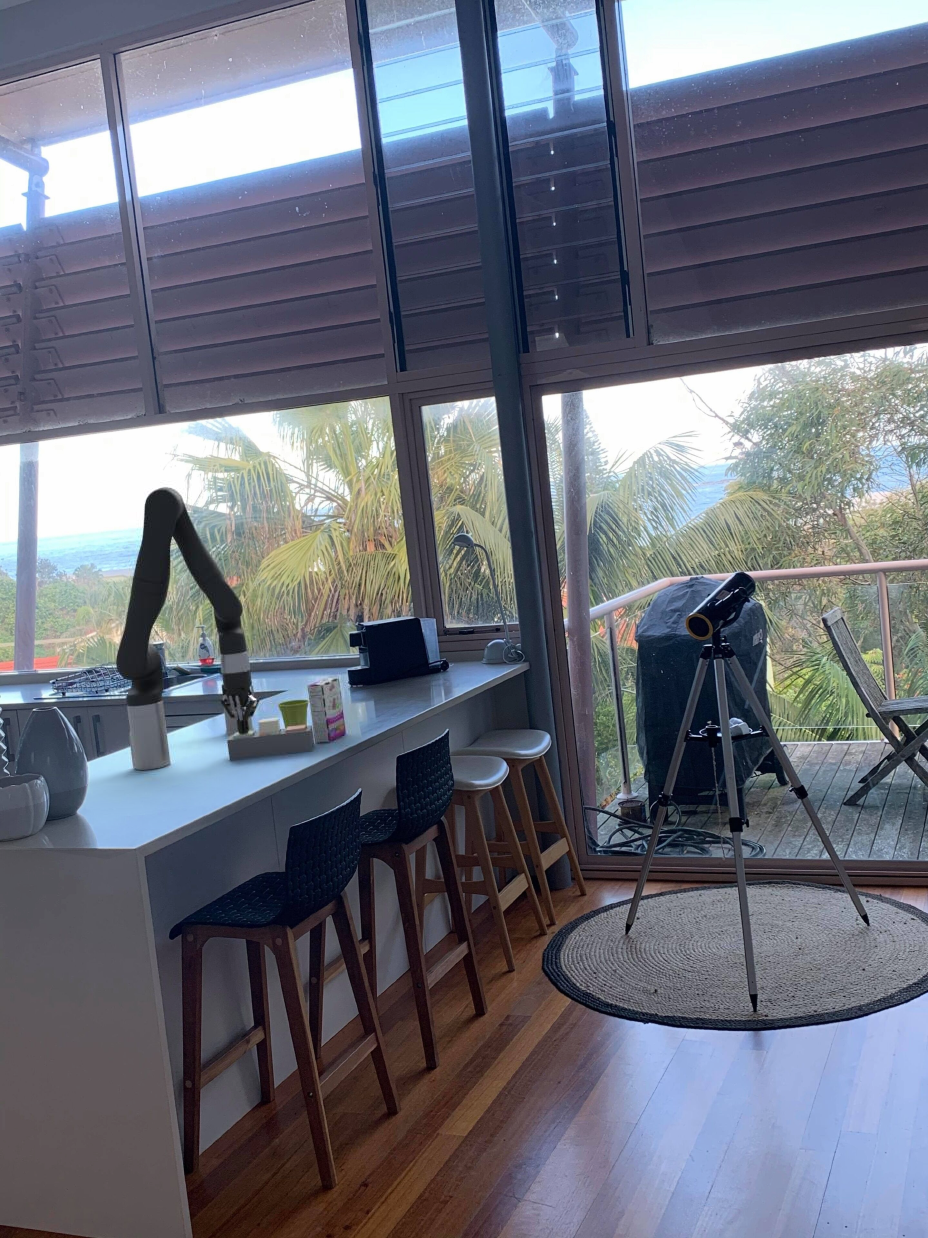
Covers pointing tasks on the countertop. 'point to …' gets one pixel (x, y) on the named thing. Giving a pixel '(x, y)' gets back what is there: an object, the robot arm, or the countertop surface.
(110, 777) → the countertop surface
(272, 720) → the key sand
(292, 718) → the plant pot
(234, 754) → the grey long block
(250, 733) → the key sage
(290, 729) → the key terracotta
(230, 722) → the pitcher
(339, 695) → the candy bar box
